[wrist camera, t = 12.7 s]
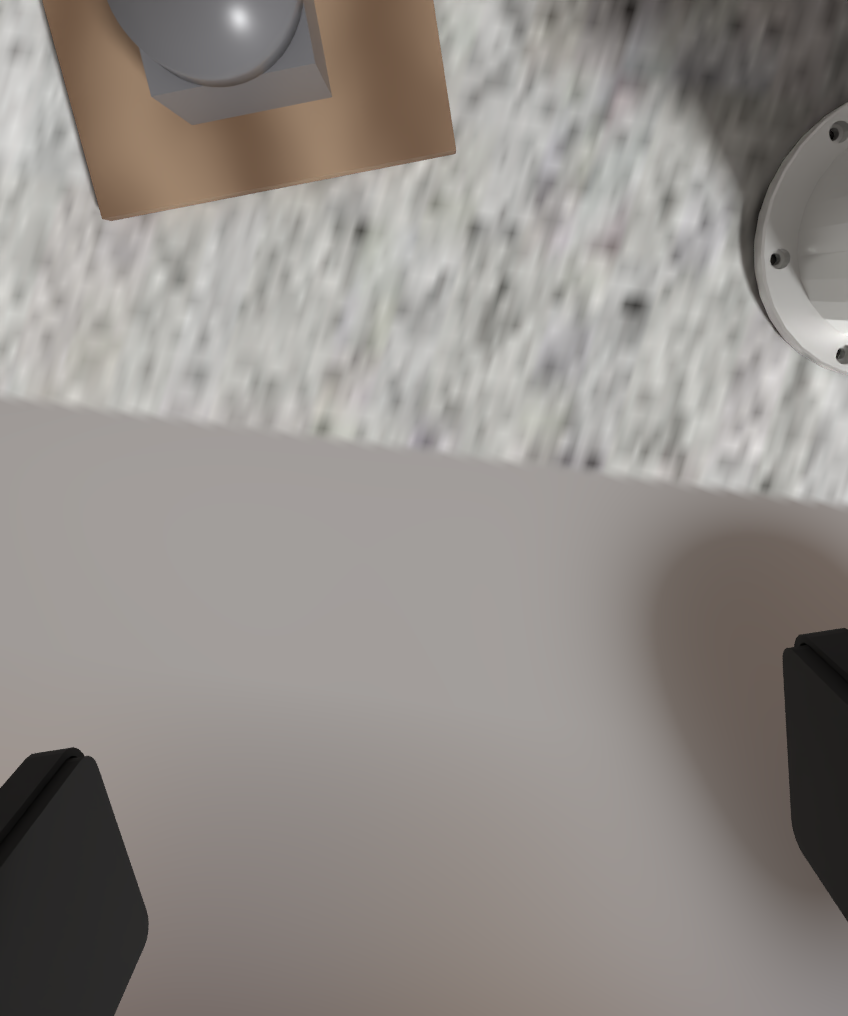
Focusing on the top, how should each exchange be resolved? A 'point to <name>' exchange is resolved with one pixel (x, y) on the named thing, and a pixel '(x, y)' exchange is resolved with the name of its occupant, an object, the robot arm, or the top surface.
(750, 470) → the top surface
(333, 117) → the board
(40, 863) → the robot arm
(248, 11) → the knob
